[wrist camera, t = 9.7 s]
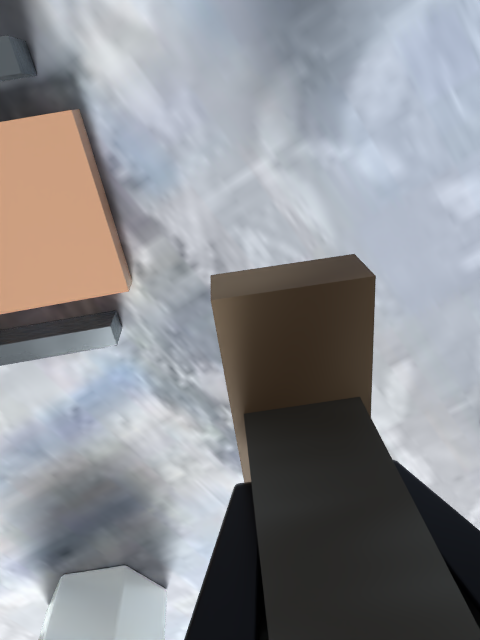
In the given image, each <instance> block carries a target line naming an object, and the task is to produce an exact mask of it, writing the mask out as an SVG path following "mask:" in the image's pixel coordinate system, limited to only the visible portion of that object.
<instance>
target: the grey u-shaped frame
mask: <svg viewBox="0 0 480 640" xmlns="http://www.w3.org/2000/svg"><path fill="white" fill-rule="evenodd" d="M31 76H37V74H36V71H35V68H34V65H33V62H32V59H31V56H30V53H29V50H28V47H27V44H26V41H23V40H20V39H17V38H14V37H11V36H8V35H6V36H0V81H6V80H12V79H18V78H25V77H31ZM121 331H122V327H121V324H120V321H119V318H118V315H117V312H116V311H111V312H105V313H99V314H93V315H87V316H81V317H76V318H70V319H64V320H58V321H52V322H47V323H41V324H35V325H29V326H23V327H18V328H12V329H6V330H0V366H1V365H7V364H13V363H18V362H24V361H30V360H36V359H41V358H47V357H53V356H59V355H65V354H70V353H76V352H82V351H88V350H93V349H99V348H105V347H111V346H116V345H117V343H118V340H119V337H120V334H121Z"/></svg>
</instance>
